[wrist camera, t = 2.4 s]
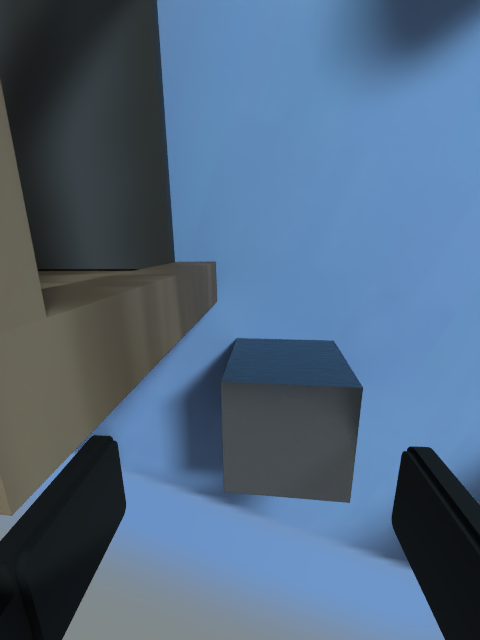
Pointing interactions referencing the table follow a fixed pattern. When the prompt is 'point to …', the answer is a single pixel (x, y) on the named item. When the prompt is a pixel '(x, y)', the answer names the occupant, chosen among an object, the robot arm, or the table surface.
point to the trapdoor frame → (82, 227)
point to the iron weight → (289, 419)
